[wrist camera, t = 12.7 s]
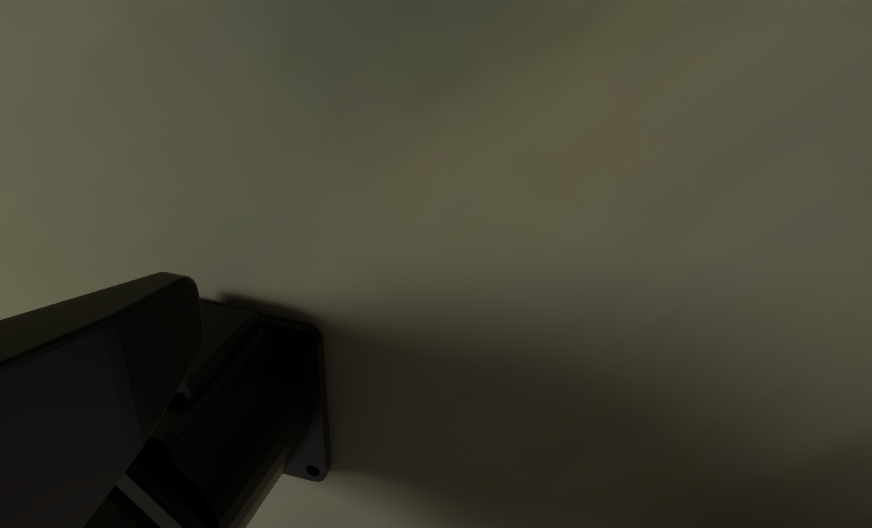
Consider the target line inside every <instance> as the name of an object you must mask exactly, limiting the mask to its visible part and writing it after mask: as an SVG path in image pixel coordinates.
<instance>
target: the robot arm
mask: <svg viewBox="0 0 872 528" xmlns="http://www.w3.org/2000/svg"><path fill="white" fill-rule="evenodd" d="M302 336H303V337H305V338H307V339H308V340H309V342H310V343H308V342H306V341H304V340H303V338H302ZM314 466H315V467H314ZM316 467H317V468H316ZM330 468H331V462H330V447H329V432H328V416H327V401H326V386H325V370H324V355H323V340H322V336H321V333H320V332H319V330H318V329H317V328H316V327H314V326H313V325H311V324H308V323H303V322H299V321H294V320H289V319H284V318H279V317H274V316H269V315H264V314H259V313H254V312H251V311H247V310H242V309H237V308H232V307H227V306H222V305H217V304H212V303H207V302H202V301H200V299H199V293H198V288H197V285H196V283H195V281H194V280H193V279H192V278H190V277H188V276H183V275H178V274H173V273H168V272H159V273H155V274H152V275H149V276H146V277H142V278H139V279H136V280H132V281H129V282H126V283H122V284H119V285H116V286H112V287H109V288H106V289H102V290H99V291H96V292H92V293H89V294H86V295H82V296H79V297H76V298H72V299H69V300H66V301H62V302H59V303H56V304H52V305H49V306H46V307H42V308H39V309H36V310H32V311H29V312H26V313H22V314H19V315H16V316H12V317H9V318H6V319H2V320H0V528H245V527H246V526H247V524H248V523H249V521H250V520H251V519H252V517H253V516H254V514H255V513H256V511H257V510H258V508H259V507H260V505H261V504H262V502H263V501H264V499H265V498H266V497H267V495H268V494H269V492H270V491H271V489H272V488H273V486H274V485H275V483H276V482H277V480H278V479H279V477H280V476H281V474H282V473H283V474H287V475H291V476H295V477H299V478H303V479H307V480H311V481H316V482H320V481H323V480H324V479H325V478H326V476H327V474H328V473H329V471H330Z"/></svg>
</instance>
